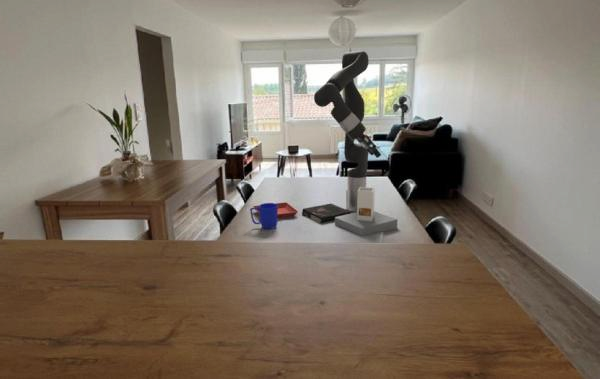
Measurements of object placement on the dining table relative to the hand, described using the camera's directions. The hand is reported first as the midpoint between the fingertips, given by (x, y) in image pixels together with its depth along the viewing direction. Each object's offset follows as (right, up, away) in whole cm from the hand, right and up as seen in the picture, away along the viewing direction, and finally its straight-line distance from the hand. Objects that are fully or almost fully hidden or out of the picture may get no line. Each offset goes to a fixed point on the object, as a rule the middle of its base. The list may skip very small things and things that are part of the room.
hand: (376, 155), depth 157 cm
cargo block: (-4, -26, +6) cm, 27 cm away
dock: (-3, -31, +7) cm, 32 cm away
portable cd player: (-20, -28, +21) cm, 40 cm away
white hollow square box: (-4, -27, +6) cm, 28 cm away
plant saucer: (-44, -27, +28) cm, 59 cm away
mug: (-48, -31, +9) cm, 58 cm away
